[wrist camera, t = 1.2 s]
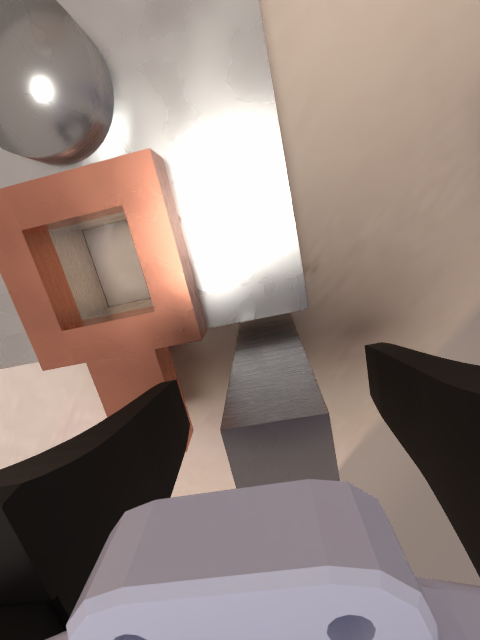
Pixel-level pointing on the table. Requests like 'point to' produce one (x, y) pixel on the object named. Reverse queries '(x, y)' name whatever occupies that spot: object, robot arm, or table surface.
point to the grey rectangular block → (275, 409)
